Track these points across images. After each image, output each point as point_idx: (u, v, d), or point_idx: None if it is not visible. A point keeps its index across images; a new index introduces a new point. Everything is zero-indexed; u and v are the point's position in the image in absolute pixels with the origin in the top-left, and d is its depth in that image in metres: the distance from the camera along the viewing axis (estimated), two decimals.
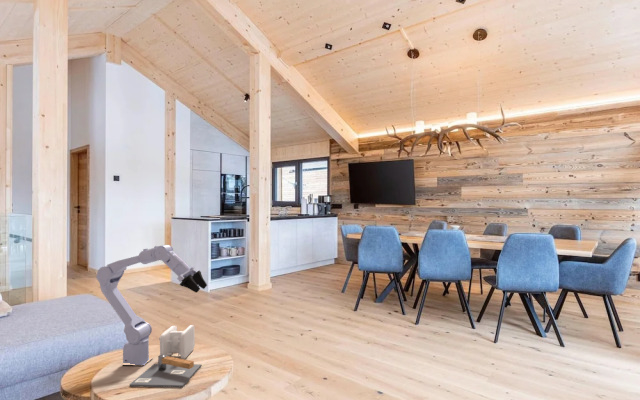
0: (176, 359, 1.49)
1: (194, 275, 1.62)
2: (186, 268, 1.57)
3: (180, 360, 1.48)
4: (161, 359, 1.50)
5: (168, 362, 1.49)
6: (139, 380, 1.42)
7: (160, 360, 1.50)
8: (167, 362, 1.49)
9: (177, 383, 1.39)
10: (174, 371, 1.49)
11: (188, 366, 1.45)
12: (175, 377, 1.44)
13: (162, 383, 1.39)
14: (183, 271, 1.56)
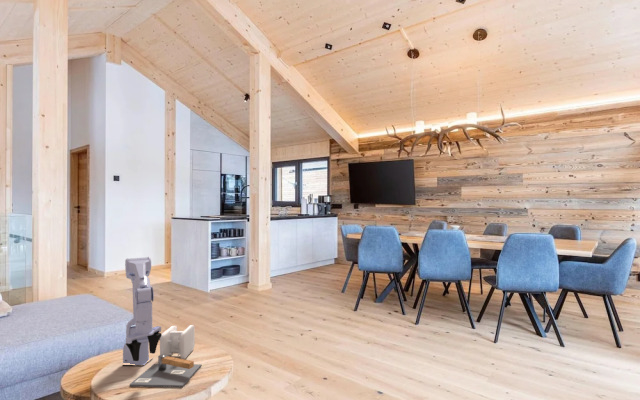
0: (176, 359, 1.49)
1: (152, 335, 1.45)
2: (145, 330, 1.40)
3: (180, 360, 1.48)
4: (161, 359, 1.50)
5: (168, 362, 1.49)
6: (139, 380, 1.42)
7: (160, 360, 1.50)
8: (167, 362, 1.49)
9: (177, 383, 1.39)
10: (174, 371, 1.49)
11: (188, 366, 1.45)
12: (175, 377, 1.44)
13: (162, 383, 1.39)
14: (140, 331, 1.39)
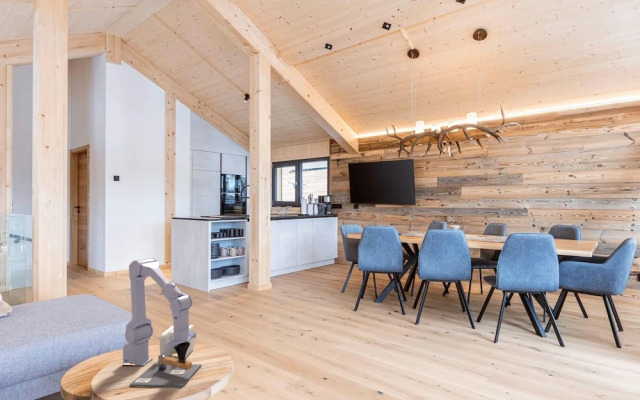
0: (175, 360, 1.48)
1: None
2: (183, 337, 1.47)
3: (179, 361, 1.47)
4: (161, 359, 1.50)
5: (167, 362, 1.48)
6: (139, 380, 1.42)
7: (160, 360, 1.50)
8: (166, 362, 1.49)
9: (177, 383, 1.39)
10: (174, 371, 1.49)
11: (186, 367, 1.44)
12: (175, 377, 1.44)
13: (162, 383, 1.39)
14: (178, 338, 1.46)
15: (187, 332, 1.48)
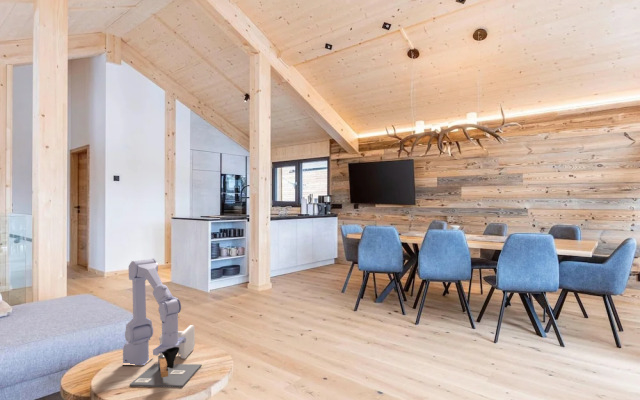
0: (163, 363, 1.45)
1: None
2: (171, 342, 1.41)
3: (163, 365, 1.43)
4: (159, 359, 1.50)
5: (159, 363, 1.47)
6: (139, 380, 1.42)
7: (158, 360, 1.50)
8: (159, 364, 1.47)
9: (177, 383, 1.39)
10: (174, 371, 1.49)
11: (161, 374, 1.38)
12: (175, 377, 1.44)
13: (162, 383, 1.39)
14: (166, 343, 1.41)
15: (176, 337, 1.43)
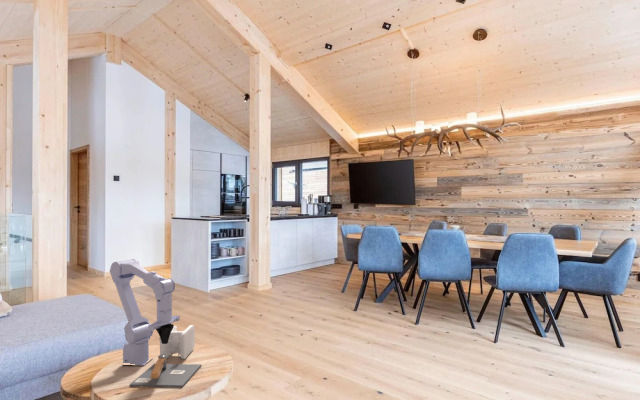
0: (158, 364, 1.44)
1: (165, 326, 1.54)
2: (165, 319, 1.51)
3: (157, 366, 1.42)
4: None
5: None
6: (139, 380, 1.42)
7: (158, 359, 1.51)
8: None
9: (177, 383, 1.39)
10: (174, 371, 1.49)
11: (151, 375, 1.37)
12: (175, 377, 1.44)
13: (162, 383, 1.39)
14: (161, 320, 1.51)
15: (170, 315, 1.53)
